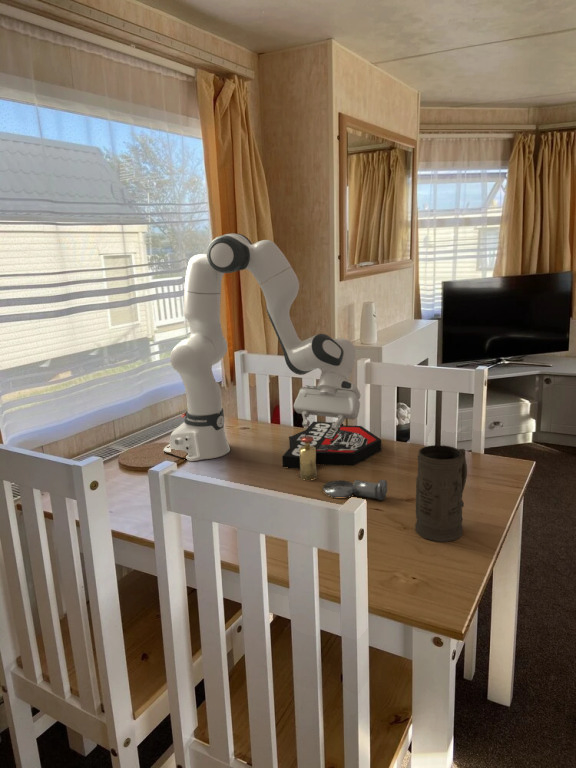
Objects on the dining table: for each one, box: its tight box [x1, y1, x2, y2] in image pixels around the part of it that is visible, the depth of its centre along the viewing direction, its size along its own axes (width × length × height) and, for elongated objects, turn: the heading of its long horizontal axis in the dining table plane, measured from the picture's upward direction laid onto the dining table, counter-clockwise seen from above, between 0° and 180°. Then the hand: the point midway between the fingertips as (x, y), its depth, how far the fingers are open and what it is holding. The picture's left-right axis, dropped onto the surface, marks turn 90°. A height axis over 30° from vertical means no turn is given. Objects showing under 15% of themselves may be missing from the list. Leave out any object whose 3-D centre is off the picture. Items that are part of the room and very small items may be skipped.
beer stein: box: [414, 444, 468, 543], centre depth 133 cm, size 15×11×20 cm
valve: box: [299, 436, 317, 480], centre depth 165 cm, size 5×5×12 cm
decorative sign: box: [281, 421, 382, 470], centre depth 186 cm, size 34×4×30 cm
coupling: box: [322, 479, 388, 501], centre depth 154 cm, size 17×9×5 cm, turn 61°
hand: (319, 427), depth 170 cm, fingers open, 8 cm apart
